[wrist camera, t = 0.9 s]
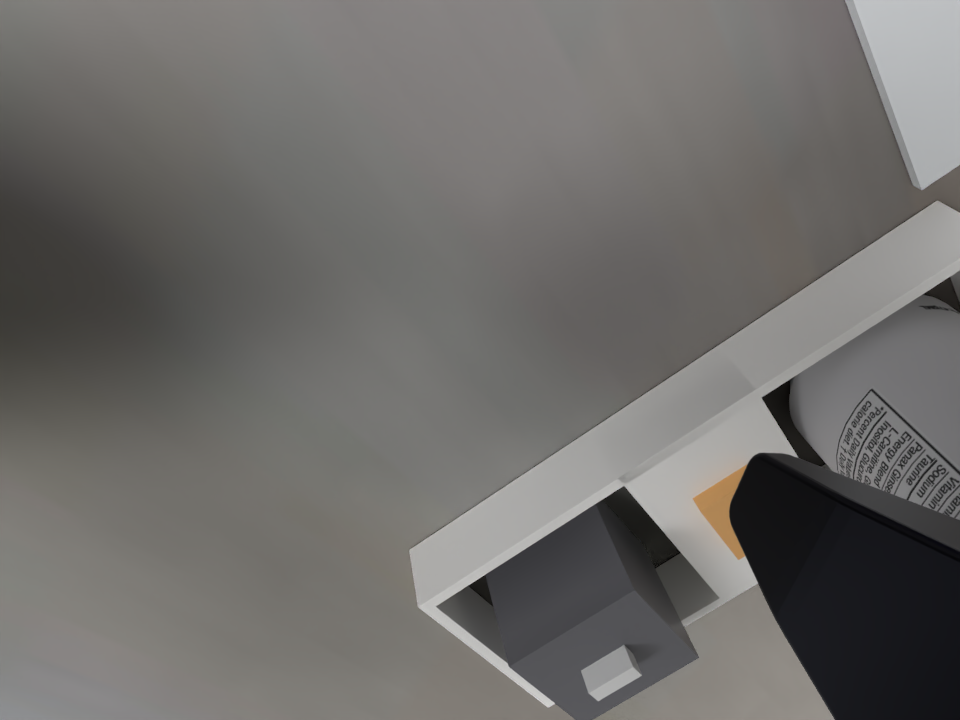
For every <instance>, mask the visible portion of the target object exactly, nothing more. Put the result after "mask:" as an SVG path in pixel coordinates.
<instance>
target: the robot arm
mask: <svg viewBox="0 0 960 720" xmlns="http://www.w3.org/2000/svg"><path fill="white" fill-rule="evenodd" d="M729 518H730V523H731V526H732V528H733V531H734V533H735V535H736V537H737V539H738V541H739V544H740V546H741V548H742V550H743V552H744V554H745V556H746V559H747V561H748V563H749V565H750V567H751V569H752V571H753V574H754V576H755V578H756V580H757V582H758V584H759V586H760V589H761V591H762V593H763V595H764V597H765V599H766V601H767V603H768V605H769V608H770V610H771V612H772V614H773V616H774V618H775V619H776V621H777V623H778V625H779V627H780V628H781V630H782V632H783V634H784V635H785V637H786V639H787V640H788V642H789V644H790V645H791V647H792V649H793V651H794V652H795V654H796V656H797V657H798V659H799V661H800V662H801V664H802V666H803V667H804V669H805V671H806V672H807V674H808V676H809V677H810V679H811V681H812V682H813V684H814V686H815V687H816V689H817V691H818V692H819V694H820V696H821V697H822V699H823V701H824V702H825V704H826V706H827V707H828V709H829V711H830V712H831V714H832V716H833V717H834V719H835V720H960V520H958V519H956V518H953V517H950V516H948V515H945V514H943V513H940V512H937V511H935V510H932V509H930V508H927V507H924V506H922V505H919V504H917V503H914V502H911V501H909V500H906V499H904V498H901V497H898V496H896V495H893V494H891V493H888V492H885V491H883V490H880V489H878V488H875V487H872V486H870V485H867V484H864V483H862V482H859V481H857V480H854V479H851V478H849V477H846V476H844V475H841V474H838V473H836V472H833V471H831V470H828V469H825V468H823V467H820V466H818V465H815V464H812V463H810V462H807V461H805V460H802V459H799V458H797V457H794V456H792V455H789V454H784V453H758V454H756V455H754V456H753V457H752V458H751V459H750V460H749V462H748V464H747V467H746V469H745V471H744V473H743V475H742V478H741V480H740V482H739V484H738V486H737V489H736V491H735V493H734V495H733V497H732V500H731V503H730V508H729Z"/></svg>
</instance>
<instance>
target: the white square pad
mask: <svg viewBox="0 0 960 720" xmlns="http://www.w3.org/2000/svg"><path fill="white" fill-rule="evenodd" d="M845 2H846V4H847V7H848V10H849V13H850V15H851V18H852V21H853V23H854V26H855V29H856V32H857V34H858V37H859V40H860V43H861V45H862V48H863V51H864V53H865V56H866V59H867V62H868V64H869V67H870V70H871V73H872V75H873V78H874V81H875V83H876V86H877V89H878V92H879V94H880V97H881V100H882V103H883V105H884V108H885V111H886V113H887V116H888V119H889V122H890V124H891V127H892V130H893V132H894V135H895V138H896V141H897V143H898V146H899V149H900V152H901V154H902V157H903V160H904V162H905V165H906V168H907V171H908V173H909V176H910V179H911V182H912V184H913V186H915V187H917V188H919V189H920V190H923V189H924V188H926V187H927V186H929V185H930V184H932V183H933V182H935V181H936V180H938V179H939V178H941V177H942V176H944V175H945V174H947V173H948V172H950V171H951V170H953V169H954V168H956V167H957V166H959V165H960V0H845Z"/></svg>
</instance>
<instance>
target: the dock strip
mask: <svg viewBox="0 0 960 720" xmlns="http://www.w3.org/2000/svg"><path fill="white" fill-rule="evenodd" d="M949 277H950V278H951V281H952V284H953V287H954V289H955V292H956V295H957V298H958V300H959V303H960V213H959V212H957V211H956V210H954V209H952V208H950V207H948V206H947V205H945V204H943V203H941V202H939V201H935V202H934V203H932V204H931V205H929V206H928V207H926V208H925V209H923V210H922V211H920V212H919V213H917V214H916V215H914V216H913V217H911V218H910V219H908V220H907V221H905V222H904V223H902V224H901V225H899V226H898V227H896V228H895V229H893V230H892V231H890V232H889V233H887V234H886V235H884V236H883V237H881V238H880V239H878V240H877V241H875V242H874V243H872V244H871V245H869V246H868V247H866V248H865V249H863V250H861V251H860V252H858V253H857V254H855V255H854V256H852V257H851V258H849V259H848V260H846V261H845V262H843V263H842V264H840V265H839V266H837V267H836V268H834V269H833V270H831V271H830V272H828V273H827V274H825V275H824V276H822V277H821V278H819V279H818V280H816V281H815V282H813V283H812V284H810V285H809V286H807V287H806V288H804V289H803V290H801V291H800V292H798V293H797V294H795V295H794V296H792V297H790V298H789V299H787V300H786V301H784V302H783V303H781V304H780V305H778V306H777V307H775V308H774V309H772V310H771V311H769V312H768V313H766V314H765V315H763V316H762V317H760V318H759V319H757V320H756V321H754V322H753V323H751V324H750V325H748V326H747V327H745V328H744V329H742V330H741V331H739V332H738V333H736V334H735V335H733V336H732V337H730V338H729V339H727V340H726V341H724V342H723V343H721V344H720V345H718V346H716V347H715V348H713V349H712V350H710V351H709V352H707V353H706V354H704V355H703V356H701V357H700V358H698V359H697V360H695V361H694V362H692V363H691V364H689V365H688V366H686V367H685V368H683V369H682V370H680V371H679V372H677V373H676V374H674V375H673V376H671V377H670V378H668V379H667V380H665V381H664V382H662V383H661V384H659V385H658V386H656V387H655V388H653V389H652V390H650V391H649V392H647V393H645V394H644V395H642V396H641V397H639V398H638V399H636V400H635V401H633V402H632V403H630V404H629V405H627V406H626V407H624V408H623V409H621V410H620V411H618V412H617V413H615V414H614V415H612V416H611V417H609V418H608V419H606V420H605V421H603V422H602V423H600V424H599V425H597V426H596V427H594V428H593V429H591V430H590V431H588V432H587V433H585V434H584V435H582V436H581V437H579V438H578V439H576V440H575V441H573V442H571V443H570V444H568V445H567V446H565V447H564V448H562V449H561V450H559V451H558V452H556V453H555V454H553V455H552V456H550V457H549V458H547V459H546V460H544V461H543V462H541V463H540V464H538V465H537V466H535V467H534V468H532V469H531V470H529V471H528V472H526V473H525V474H523V475H522V476H520V477H519V478H517V479H516V480H514V481H513V482H511V483H510V484H508V485H507V486H505V487H504V488H502V489H500V490H499V491H497V492H496V493H494V494H493V495H491V496H490V497H488V498H487V499H485V500H484V501H482V502H481V503H479V504H478V505H476V506H475V507H473V508H472V509H470V510H469V511H467V512H466V513H464V514H463V515H461V516H460V517H458V518H457V519H455V520H454V521H452V522H451V523H449V524H448V525H446V526H445V527H443V528H442V529H440V530H439V531H437V532H436V533H434V534H433V535H431V536H429V537H428V538H426V539H425V540H423V541H422V542H420V543H419V544H417V545H416V546H414V547H413V548H411V549H410V550H409V552H410V559H411V565H412V572H413V578H414V584H415V591H416V597H417V604H418V607H419V608H420V609H421V610H422V611H424V612H425V613H426V614H428V615H429V616H430V617H431V618H433V619H434V620H435V621H437V622H438V623H439V624H441V625H442V626H443V627H444V628H446V629H447V630H448V631H450V632H451V633H452V634H453V635H455V636H456V637H457V638H459V639H460V640H461V641H463V642H464V643H465V644H466V645H468V646H469V647H470V648H472V649H473V650H474V651H475V652H477V653H478V654H479V655H481V656H482V657H483V658H485V659H486V660H487V661H488V662H490V663H491V664H492V665H494V666H495V667H496V668H497V669H499V670H500V671H501V672H503V673H504V674H505V675H506V676H508V677H509V678H510V679H512V680H513V681H514V682H516V683H517V684H518V685H519V686H521V687H522V688H523V689H525V690H526V691H527V692H528V693H530V694H531V695H532V696H534V697H535V698H536V699H538V700H539V701H540V702H541V703H543V704H544V705H545V706H547V707H548V708H549V707H550V706H552V705H554V704H555V703H554V702H553V701H551V700H550V699H549V698H548V697H546V696H545V695H544V694H542V693H541V692H540V691H539V690H537V689H536V688H535V687H534V686H532V685H531V684H530V683H529V682H527V681H526V680H525V679H524V678H522V677H521V676H520V675H518V674H517V673H516V672H515V671H513V670H512V669H511V668H510V667H509V666H508V662H507V658H506V654H505V650H504V646H503V642H502V638H501V634H500V630H499V626H498V623H497V619H496V615H495V611H494V607H493V606H491V605H490V604H489V603H488V602H487V601H485V600H484V599H483V598H482V597H481V596H480V595H478V594H477V593H476V592H475V591H474V590H472V589H471V588H470V587H469V586H468V585H470V584H471V583H473V582H475V581H476V580H478V579H479V578H481V577H482V576H484V575H485V574H487V573H489V572H490V571H492V570H493V569H495V568H496V567H498V566H500V565H501V564H503V563H504V562H506V561H507V560H509V559H510V558H512V557H514V556H515V555H517V554H518V553H520V552H521V551H523V550H525V549H526V548H528V547H529V546H531V545H532V544H534V543H535V542H537V541H539V540H540V539H542V538H543V537H545V536H546V535H548V534H549V533H551V532H553V531H554V530H556V529H557V528H559V527H560V526H562V525H564V524H565V523H567V522H568V521H570V520H571V519H573V518H574V517H576V516H578V515H579V514H581V513H582V512H584V511H585V510H587V509H588V508H590V507H592V506H593V505H595V504H596V503H598V502H599V501H601V500H603V499H604V498H606V497H607V496H609V495H610V494H612V493H613V492H615V491H617V490H618V489H620V488H621V487H623V486H625V488H626V489H627V490H628V491H629V492H630V493H631V495H632V496H633V497H634V498H635V499H636V500H637V502H638V503H639V504H640V505H641V506H642V507H643V509H644V510H645V511H646V512H647V513H648V515H649V516H650V517H651V518H652V519H653V520H654V522H655V523H656V524H657V525H658V526H659V527H660V529H661V530H662V531H663V532H664V533H665V534H666V536H667V537H668V538H669V539H670V540H671V542H672V543H673V544H674V545H675V546H676V547H677V549H678V550H679V551H680V552H681V553H680V554H678V555H676V556H675V557H673V558H672V559H670V560H668V561H667V562H665V563H663V564H662V565H660V566H659V567H657V568H655V569H656V571H657V573H658V576H659V578H660V580H661V582H662V584H663V586H664V588H665V590H666V592H667V594H668V596H669V598H670V600H671V602H672V604H673V606H674V608H675V610H676V612H677V614H678V616H679V618H680V620H681V622H682V624H683V626H684V627H685V626H687V625H689V624H690V623H692V622H694V621H695V620H697V619H699V618H701V617H702V616H704V615H706V614H707V613H709V612H711V611H712V610H714V609H716V608H717V607H719V606H721V605H722V604H724V603H726V602H728V601H729V600H731V599H733V598H734V597H736V596H738V595H739V594H741V593H743V592H744V591H746V590H748V589H749V588H751V587H753V586H754V585H756V584H758V582H757V580H756V578H755V576H754V574H753V571H752V569H751V567H750V565H749V563H748V561H747V559H746V556H745V554H744V552H743V550H742V548H741V546H740V544H739V541H738V539H737V537H736V535H735V533H734V531H733V528H732V526H731V523H730V518H729V508H730V503H731V500H732V497H733V495H734V493H735V491H736V489H737V486H738V484H739V482H740V480H741V478H742V475H743V473H744V471H745V469H746V467H747V464H748V462H749V460H750V459H751V458H752V457H753V456H754V455H756V454H758V453H784V454H789V455H792V456H794V457H797V458H798V456H797V455H796V453H795V451H794V450H793V448H792V446H791V445H790V443H789V442H788V440H787V438H786V437H785V435H784V434H783V432H782V430H781V429H780V427H779V425H778V424H777V422H776V421H775V419H774V417H773V416H772V414H771V413H770V411H769V409H768V408H767V406H766V404H765V403H764V401H763V400H762V397H763V396H765V395H766V394H768V393H769V392H771V391H773V390H774V389H776V388H777V387H779V386H780V385H782V384H783V383H785V382H787V381H788V380H790V379H791V378H793V377H794V376H796V375H798V374H799V373H801V372H802V371H804V370H805V369H807V368H808V367H810V366H812V365H813V364H815V363H816V362H818V361H819V360H821V359H822V358H824V357H826V356H827V355H829V354H830V353H832V352H833V351H835V350H837V349H838V348H840V347H841V346H843V345H844V344H846V343H847V342H849V341H851V340H852V339H854V338H855V337H857V336H858V335H860V334H861V333H863V332H865V331H866V330H868V329H869V328H871V327H872V326H874V325H876V324H877V323H879V322H880V321H882V320H883V319H885V318H886V317H888V316H890V315H891V314H893V313H894V312H896V311H897V310H899V309H901V308H902V307H904V306H905V305H907V304H908V303H910V302H911V301H913V300H915V299H916V298H918V297H919V296H921V295H922V294H924V293H925V292H927V291H929V290H930V289H932V288H933V287H935V286H936V285H938V284H940V283H941V282H943V281H944V280H946V279H947V278H949ZM822 467H823V468H825V469H828V470H831V469H830V468H829V466H828V465H827V464H825V465H823V466H822ZM831 471H832V470H831Z"/></svg>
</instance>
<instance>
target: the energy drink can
mask: <svg viewBox="0 0 960 720" xmlns="http://www.w3.org/2000/svg"><path fill="white" fill-rule="evenodd" d="M790 387H791V391H790V398H789V406H790V415H791V418H792V420H793V423H794V425H795V427H796V429H797V430H798V431H799V432H800V434H801V435H802V436H803V437H804V438H805V440H806V441H807V442H808V443H809V444H810V445H811V447H812V448H813V449H814V450H815V451H816V452H817V454H818V455H819V456H820V457H821V458H822V459H823V461H824V462H825V463H826V464H827V465H828V466H829V468H830V469H831V470H832V471H833V472H836V473H838V474H841V475H844V476H846V477H849V478H851V479H854V480H857V481H859V482H862V483H864V484H867V485H870V486H872V487H875V488H878V489H880V490H883V491H885V492H888V493H891V494H893V495H896V496H898V497H901V498H904V499H906V500H909V501H911V502H914V503H917V504H919V505H922V506H924V507H927V508H930V509H932V510H935V511H937V512H940V513H943V514H945V515H948V516H950V517H953V518H956V519H958V520H960V313H959V312H958V311H956V310H955V309H954V308H952V307H951V306H949V305H948V304H947V303H945V302H943V301H941V300H939V299H937V298H935V297H931V296H926V295H921V296H919V297H918V298H916V299H915V300H913V301H911V302H910V303H908V304H907V305H905V306H904V307H902V308H901V309H899V310H897V311H896V312H894V313H893V314H891V315H890V316H888V317H886V318H885V319H883V320H882V321H880V322H879V323H877V324H876V325H874V326H872V327H871V328H869V329H868V330H866V331H865V332H863V333H861V334H860V335H858V336H857V337H855V338H854V339H852V340H851V341H849V342H847V343H846V344H844V345H843V346H841V347H840V348H838V349H837V350H835V351H833V352H832V353H830V354H829V355H827V356H826V357H824V358H822V359H821V360H819V361H818V362H816V363H815V364H813V365H812V366H810V367H808V368H807V369H805V370H804V371H802V372H801V373H799V374H798V375H796V376H794V377H793V378H791V379H790Z"/></svg>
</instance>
